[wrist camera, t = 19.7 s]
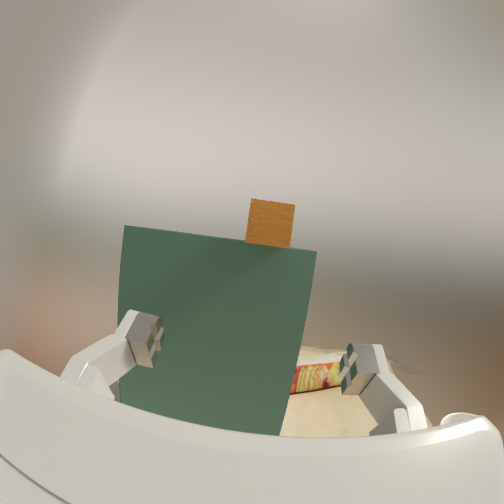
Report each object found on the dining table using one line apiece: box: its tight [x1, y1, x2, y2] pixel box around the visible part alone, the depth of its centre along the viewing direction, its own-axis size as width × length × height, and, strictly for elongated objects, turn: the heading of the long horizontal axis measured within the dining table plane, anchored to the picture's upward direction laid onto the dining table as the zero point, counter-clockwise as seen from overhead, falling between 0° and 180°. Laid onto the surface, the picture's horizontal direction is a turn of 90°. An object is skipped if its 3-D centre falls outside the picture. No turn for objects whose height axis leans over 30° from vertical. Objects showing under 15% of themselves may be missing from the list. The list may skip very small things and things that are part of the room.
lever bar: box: [245, 199, 295, 249], centre depth 30 cm, size 22×3×3 cm, turn 177°
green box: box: [118, 225, 317, 436], centre depth 32 cm, size 10×20×26 cm, turn 88°
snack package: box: [290, 352, 347, 393], centre depth 50 cm, size 21×7×7 cm, turn 110°
